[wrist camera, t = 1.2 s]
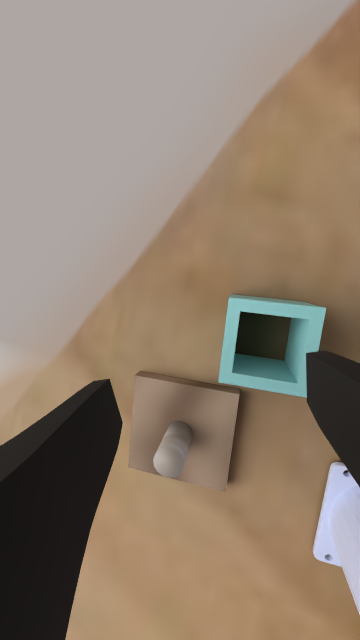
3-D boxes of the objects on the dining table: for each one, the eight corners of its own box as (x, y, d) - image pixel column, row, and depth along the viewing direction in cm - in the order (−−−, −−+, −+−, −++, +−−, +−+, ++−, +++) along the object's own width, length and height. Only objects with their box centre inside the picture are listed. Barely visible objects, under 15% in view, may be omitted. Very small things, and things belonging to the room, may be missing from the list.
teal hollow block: (304, 302, 18) (326, 308, 14) (292, 371, 19) (309, 398, 14) (231, 294, 19) (229, 297, 15) (222, 360, 20) (218, 382, 15)
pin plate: (239, 388, 20) (239, 418, 15) (226, 482, 21) (223, 534, 17) (139, 371, 21) (114, 393, 17) (132, 459, 23) (107, 501, 18)
